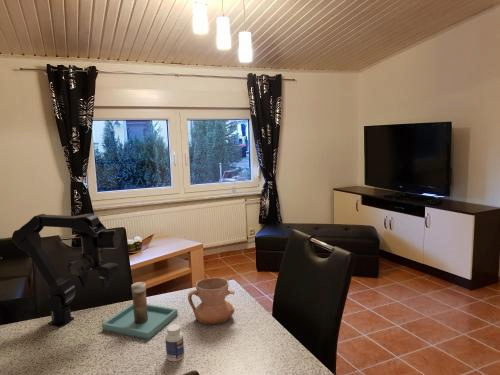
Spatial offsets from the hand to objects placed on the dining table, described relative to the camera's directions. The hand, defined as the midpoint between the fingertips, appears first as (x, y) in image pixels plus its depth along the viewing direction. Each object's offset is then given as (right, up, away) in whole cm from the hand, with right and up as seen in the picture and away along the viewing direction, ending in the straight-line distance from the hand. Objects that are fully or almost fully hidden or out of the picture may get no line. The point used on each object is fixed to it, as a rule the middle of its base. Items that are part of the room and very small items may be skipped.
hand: (95, 289), depth 133 cm
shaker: (+17, -12, 0) cm, 21 cm away
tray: (+17, -13, 0) cm, 21 cm away
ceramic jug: (+43, -12, +2) cm, 45 cm away
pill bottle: (+34, -15, -21) cm, 43 cm away
